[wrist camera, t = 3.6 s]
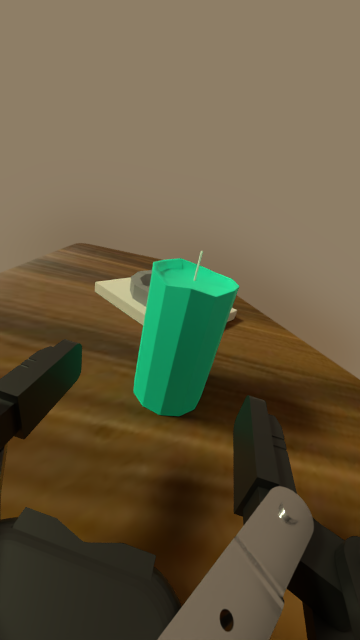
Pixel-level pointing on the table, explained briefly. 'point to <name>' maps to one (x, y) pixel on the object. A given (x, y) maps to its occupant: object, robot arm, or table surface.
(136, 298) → the jig plate
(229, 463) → the table surface
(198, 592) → the robot arm
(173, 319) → the candle
